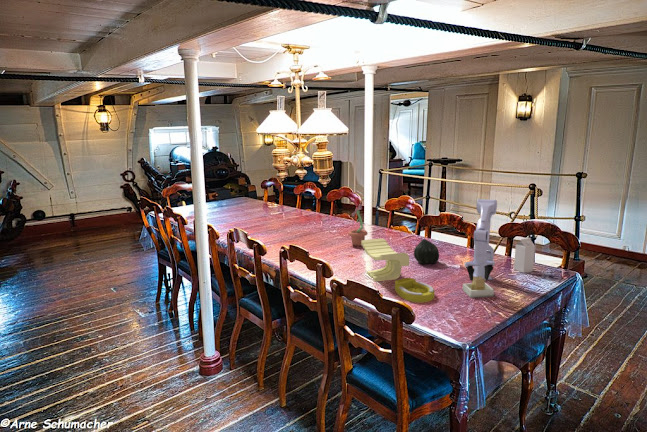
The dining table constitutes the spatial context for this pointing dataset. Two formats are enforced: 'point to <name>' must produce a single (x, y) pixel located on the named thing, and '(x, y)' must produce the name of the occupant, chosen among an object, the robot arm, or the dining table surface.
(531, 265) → the milk carton
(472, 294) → the tote
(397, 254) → the slatted curved stool
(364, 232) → the decorative flower
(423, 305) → the dining table surface
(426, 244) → the squash
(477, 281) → the tea tin
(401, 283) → the ashtray
